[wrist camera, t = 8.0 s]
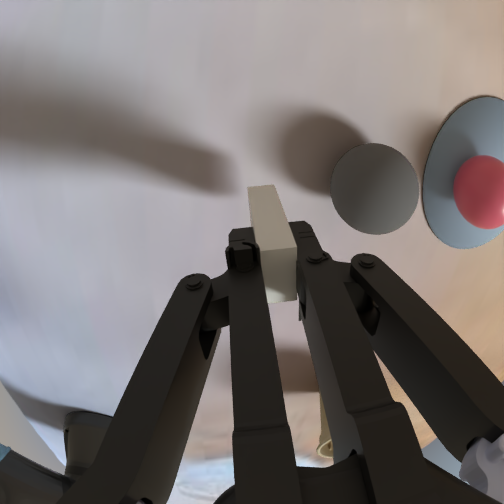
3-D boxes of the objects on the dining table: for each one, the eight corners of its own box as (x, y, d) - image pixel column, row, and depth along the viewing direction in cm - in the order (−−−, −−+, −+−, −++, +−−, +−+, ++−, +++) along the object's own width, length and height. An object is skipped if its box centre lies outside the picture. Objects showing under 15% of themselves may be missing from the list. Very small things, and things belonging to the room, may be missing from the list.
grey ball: (431, 241, 17) (389, 205, 21) (439, 153, 14) (390, 132, 19) (351, 260, 17) (320, 217, 21) (350, 162, 14) (314, 139, 18)
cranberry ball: (474, 247, 17) (518, 239, 17) (494, 171, 14) (537, 173, 14) (434, 209, 22) (479, 206, 22) (445, 143, 19) (491, 147, 19)
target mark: (409, 255, 24) (410, 257, 24) (430, 84, 16) (432, 84, 16) (511, 240, 24) (512, 241, 24) (539, 111, 16) (540, 111, 16)
